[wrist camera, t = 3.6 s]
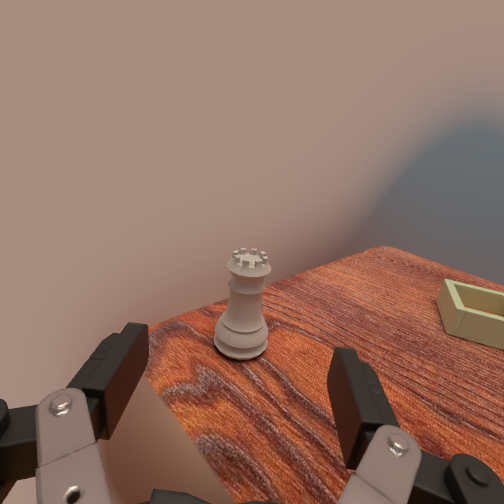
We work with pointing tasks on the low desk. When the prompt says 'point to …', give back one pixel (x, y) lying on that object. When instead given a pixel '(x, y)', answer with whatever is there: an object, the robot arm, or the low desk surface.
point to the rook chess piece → (244, 308)
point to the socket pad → (472, 313)
